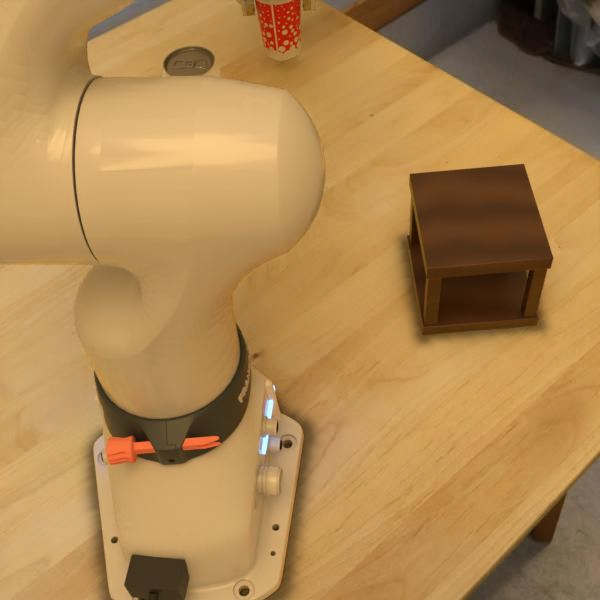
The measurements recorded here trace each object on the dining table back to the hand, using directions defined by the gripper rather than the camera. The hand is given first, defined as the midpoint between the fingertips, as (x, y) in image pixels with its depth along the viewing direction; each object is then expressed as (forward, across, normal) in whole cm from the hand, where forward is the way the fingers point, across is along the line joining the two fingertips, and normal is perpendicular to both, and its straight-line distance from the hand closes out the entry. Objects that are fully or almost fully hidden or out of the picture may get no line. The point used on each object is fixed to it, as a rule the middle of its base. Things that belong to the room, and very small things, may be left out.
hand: (279, 10), depth 103 cm
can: (+9, -10, -13) cm, 19 cm away
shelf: (+9, +17, -37) cm, 42 cm away
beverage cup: (+6, 0, 0) cm, 6 cm away
